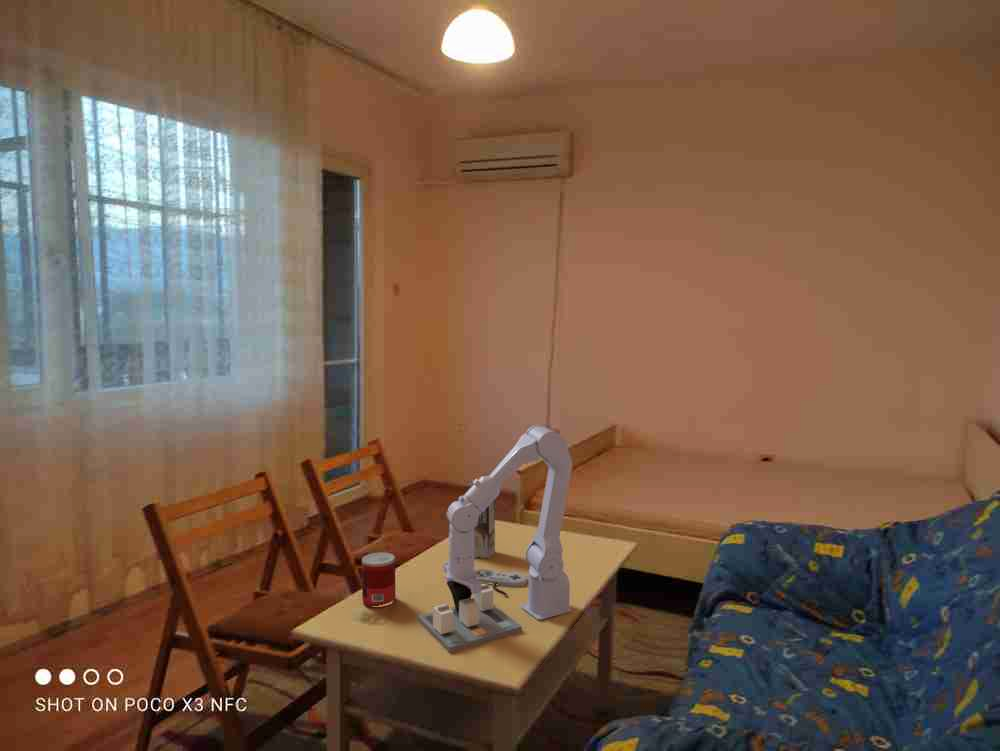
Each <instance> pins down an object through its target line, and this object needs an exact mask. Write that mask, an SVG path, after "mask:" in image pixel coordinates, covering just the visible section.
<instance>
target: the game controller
mask: <svg viewBox="0 0 1000 751" xmlns="http://www.w3.org/2000/svg"><path fill="white" fill-rule="evenodd" d="M474 572H475V574H476V577H477V579H478V581H479V582H483V583H482V584H484V583H492V584H494V585H492V584H491V585H492V589H493V590H494V589H495V592H497V593H500V594H502V595H504V596H505V595H507V596H508V594H507V592H505V591H503V590H502V589H499V588H498V587H496V586H500V585H505V586H504V587H508V586H521V587H523V586H522V585H524V586H526V585H527V584H528V576H527V575H526V574H524V573H522V572H509V573H508V572H501V571H494V570H493V569H489V568H478V569H474ZM526 583H527V584H526ZM496 584H498V585H496ZM525 584H526V585H525ZM505 597H506V596H505ZM506 598H507V597H506Z"/></svg>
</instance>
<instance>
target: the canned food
mask: <svg viewBox="0 0 1000 751" xmlns="http://www.w3.org/2000/svg"><path fill="white" fill-rule="evenodd" d="M361 590H362V591H361V593H362V594H361V597H362V599H361V600H362V602H363V605H364V606H366V607H368V608H372V606H379V605H383V604H386V603H389V602H391V601H393V600H394V599H396V556H395V555H394V554H392V553H389V552H386V551H385V552H381V551H379V552H372V553H369V554H367V555H364V556H363V557H362V558H361ZM394 601H395V600H394Z"/></svg>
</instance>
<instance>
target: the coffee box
mask: <svg viewBox="0 0 1000 751" xmlns="http://www.w3.org/2000/svg"><path fill="white" fill-rule="evenodd" d="M494 552H495V553H496V499H495V500H494V501H493V502H492V503H491V504H490V505H489V506H488V507H487V508H486V509H485V510H484V511H483V512H482V513H481V514H480V515H479V517H478V523H477V525H476V527H474V558H478V557H480V558H481V559H486V558H490V557H491V558H492V556H493V555H494V554H495V553H494ZM480 558H479V559H480Z"/></svg>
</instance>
